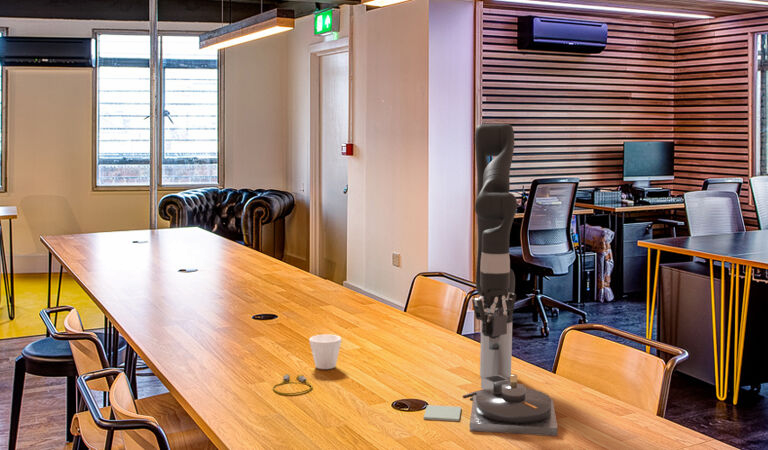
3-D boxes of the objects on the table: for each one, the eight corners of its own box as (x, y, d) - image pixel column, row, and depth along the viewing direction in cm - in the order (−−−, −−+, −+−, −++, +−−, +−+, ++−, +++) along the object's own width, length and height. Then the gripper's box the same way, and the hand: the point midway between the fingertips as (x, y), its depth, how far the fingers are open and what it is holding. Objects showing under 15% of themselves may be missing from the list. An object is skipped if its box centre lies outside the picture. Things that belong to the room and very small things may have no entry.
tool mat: (427, 407, 208) (427, 405, 208) (461, 409, 207) (461, 406, 207) (423, 419, 199) (423, 416, 199) (458, 421, 198) (458, 419, 198)
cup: (340, 372, 239) (340, 342, 238) (307, 371, 239) (307, 342, 238) (342, 362, 249) (342, 334, 248) (311, 362, 249) (311, 334, 248)
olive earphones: (324, 382, 231) (324, 375, 230) (301, 399, 216) (301, 392, 216) (286, 378, 235) (286, 371, 234) (262, 394, 220) (262, 387, 220)
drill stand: (473, 402, 212) (473, 395, 212) (552, 406, 209) (552, 399, 209) (469, 430, 192) (469, 422, 191) (557, 436, 188) (557, 428, 188)
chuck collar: (459, 403, 204) (460, 370, 203) (517, 392, 213) (517, 360, 212) (506, 428, 187) (507, 391, 186) (566, 414, 196) (567, 379, 195)
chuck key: (481, 347, 205) (482, 314, 204) (494, 345, 208) (494, 311, 206) (493, 351, 201) (494, 317, 200) (506, 348, 204) (507, 315, 203)
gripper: (504, 264, 209) (503, 327, 211) (464, 270, 201) (463, 335, 203) (525, 268, 203) (523, 333, 205) (484, 274, 195) (483, 341, 197)
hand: (494, 333), depth 204 cm, fingers closed on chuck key, 4 cm apart
